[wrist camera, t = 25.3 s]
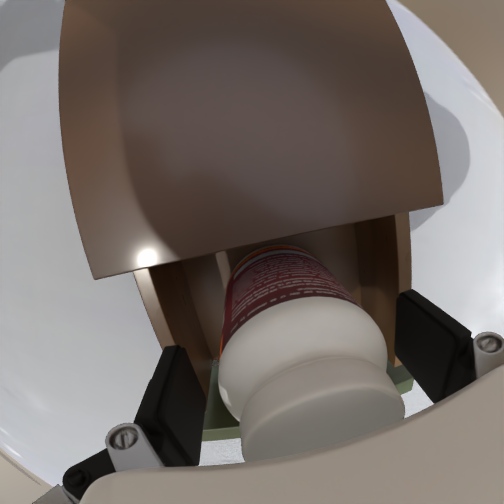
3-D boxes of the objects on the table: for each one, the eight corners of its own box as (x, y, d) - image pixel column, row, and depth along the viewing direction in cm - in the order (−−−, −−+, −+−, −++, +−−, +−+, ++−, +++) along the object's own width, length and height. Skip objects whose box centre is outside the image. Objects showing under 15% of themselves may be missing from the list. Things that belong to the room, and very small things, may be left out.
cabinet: (366, 193, 17) (444, 204, 9) (152, 238, 17) (93, 280, 9) (315, 10, 13) (349, -56, 6) (119, 48, 14) (65, -4, 6)
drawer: (372, 383, 20) (401, 432, 14) (221, 418, 20) (219, 476, 14) (358, 158, 16) (415, 150, 10) (146, 202, 16) (98, 214, 10)
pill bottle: (204, 280, 16) (158, 431, 5) (293, 220, 15) (400, 301, 5) (262, 351, 17) (284, 503, 7) (343, 302, 17) (438, 426, 6)
